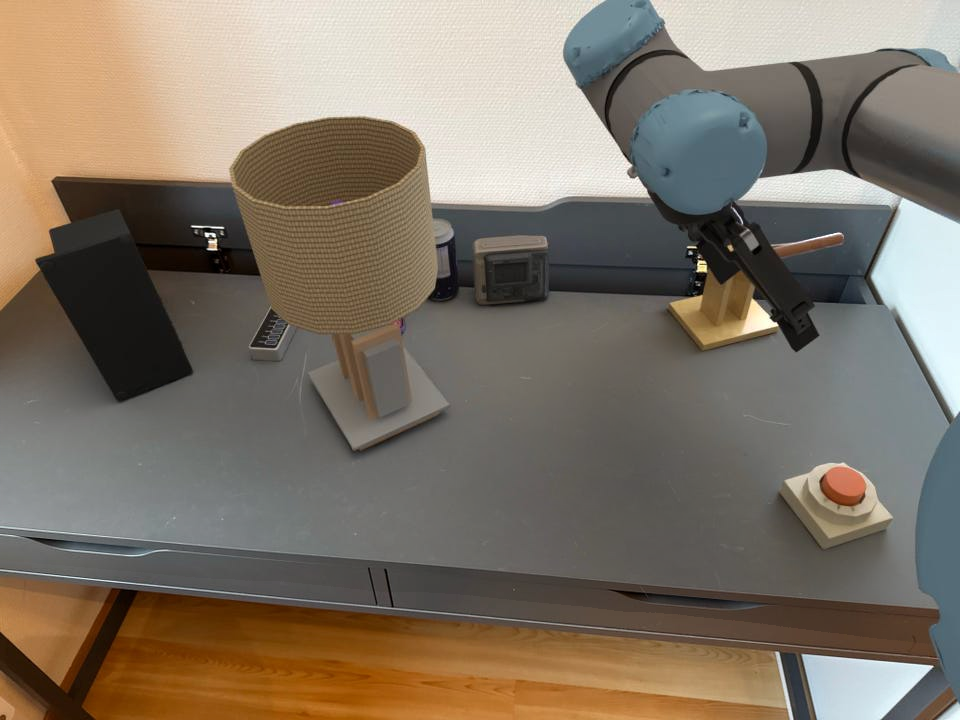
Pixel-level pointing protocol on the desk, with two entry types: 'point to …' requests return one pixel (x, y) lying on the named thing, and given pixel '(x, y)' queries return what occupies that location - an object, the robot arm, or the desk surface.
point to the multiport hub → (271, 338)
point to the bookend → (113, 304)
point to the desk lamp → (347, 258)
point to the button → (843, 486)
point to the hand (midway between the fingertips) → (765, 307)
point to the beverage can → (445, 261)
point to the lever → (808, 245)
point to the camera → (511, 269)
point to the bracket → (723, 313)
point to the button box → (833, 509)
